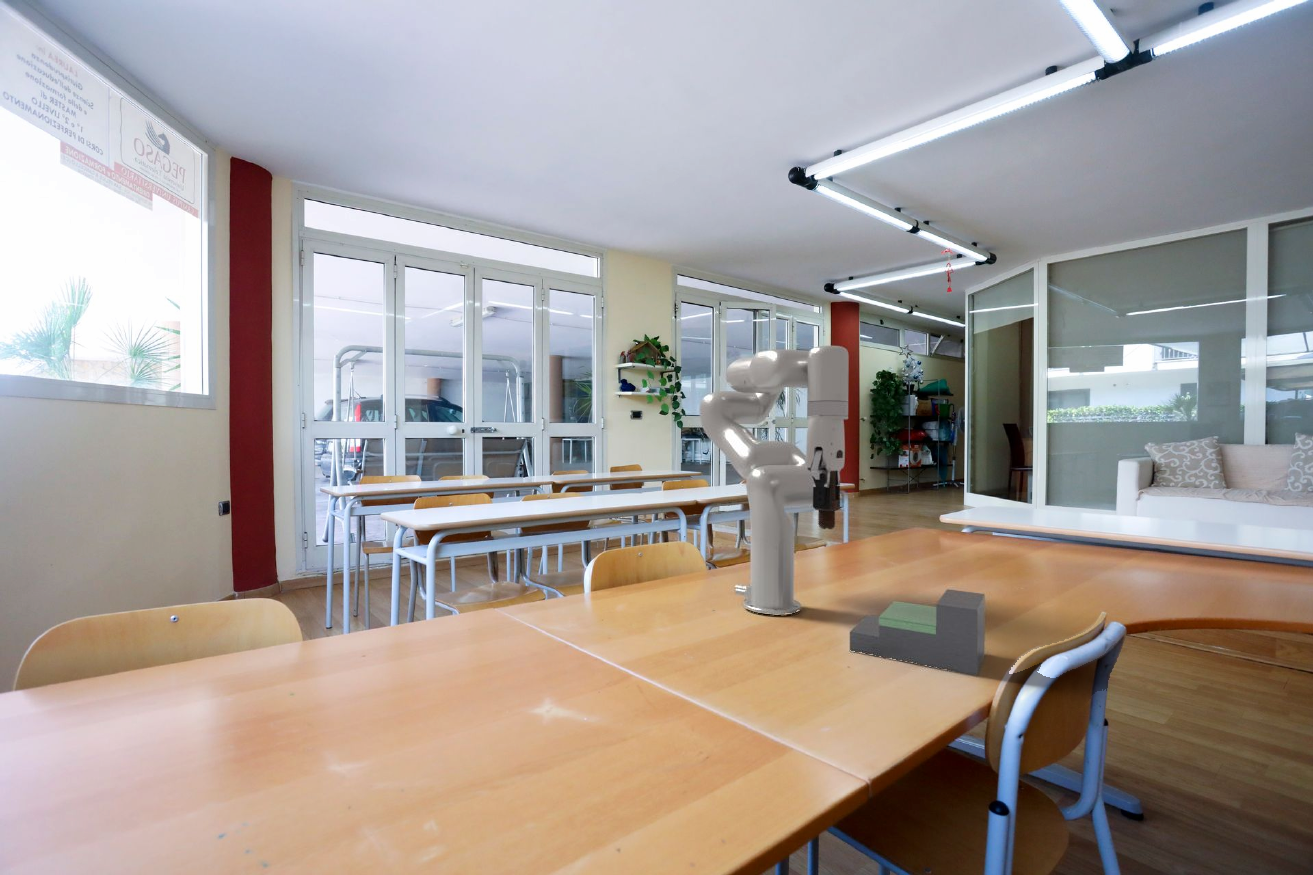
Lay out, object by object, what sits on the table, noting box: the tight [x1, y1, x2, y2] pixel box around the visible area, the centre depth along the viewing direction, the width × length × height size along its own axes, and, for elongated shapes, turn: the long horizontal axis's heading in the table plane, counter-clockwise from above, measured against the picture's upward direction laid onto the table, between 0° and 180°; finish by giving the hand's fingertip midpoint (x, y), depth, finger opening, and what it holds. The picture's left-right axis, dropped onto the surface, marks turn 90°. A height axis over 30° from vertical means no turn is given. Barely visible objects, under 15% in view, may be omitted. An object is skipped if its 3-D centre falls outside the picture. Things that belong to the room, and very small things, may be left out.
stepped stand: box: [849, 588, 986, 677], centre depth 106 cm, size 20×12×10 cm, turn 57°
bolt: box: [814, 450, 843, 530], centre depth 116 cm, size 6×5×15 cm
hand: (826, 506), depth 116 cm, fingers closed on bolt, 5 cm apart
